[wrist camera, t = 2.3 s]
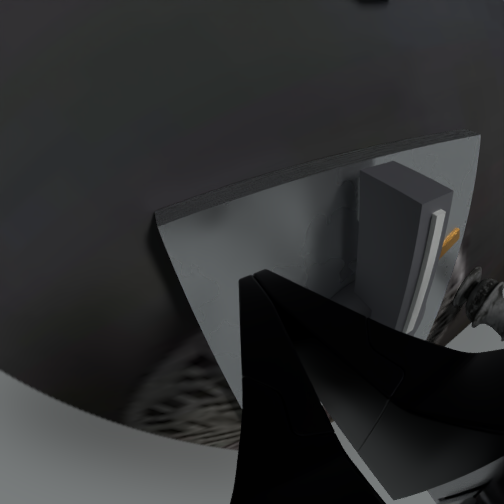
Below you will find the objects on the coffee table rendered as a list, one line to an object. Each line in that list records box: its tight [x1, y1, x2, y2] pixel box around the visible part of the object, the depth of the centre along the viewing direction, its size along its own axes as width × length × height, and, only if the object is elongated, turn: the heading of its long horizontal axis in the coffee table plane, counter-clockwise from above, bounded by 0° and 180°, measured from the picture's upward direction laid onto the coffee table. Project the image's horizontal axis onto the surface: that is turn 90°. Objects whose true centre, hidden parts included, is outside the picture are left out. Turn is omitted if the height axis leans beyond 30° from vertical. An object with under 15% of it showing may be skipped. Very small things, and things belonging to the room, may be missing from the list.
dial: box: [330, 161, 454, 336], centre depth 13 cm, size 14×8×4 cm, turn 10°
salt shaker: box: [453, 266, 504, 341], centre depth 21 cm, size 6×6×12 cm
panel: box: [155, 129, 481, 408], centre depth 17 cm, size 20×18×1 cm
